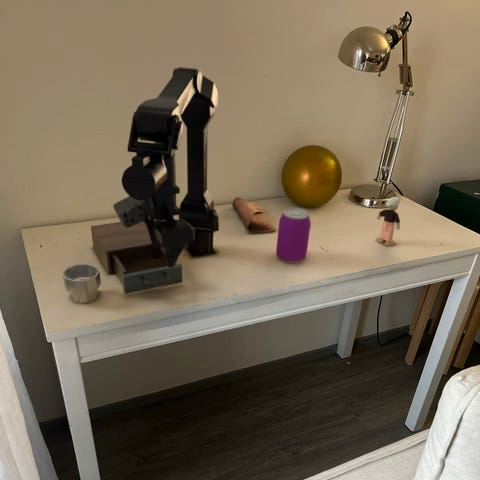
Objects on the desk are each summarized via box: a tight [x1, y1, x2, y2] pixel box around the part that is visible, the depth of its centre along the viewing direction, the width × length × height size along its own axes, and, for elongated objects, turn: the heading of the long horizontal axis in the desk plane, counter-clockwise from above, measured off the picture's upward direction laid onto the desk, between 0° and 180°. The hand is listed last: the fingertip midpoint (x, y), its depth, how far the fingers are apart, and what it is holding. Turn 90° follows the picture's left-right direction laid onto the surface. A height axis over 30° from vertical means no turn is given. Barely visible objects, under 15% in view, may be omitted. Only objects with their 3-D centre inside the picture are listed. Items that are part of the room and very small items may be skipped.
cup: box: [62, 263, 102, 304], centre depth 107 cm, size 7×8×6 cm
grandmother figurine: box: [376, 196, 401, 246], centre depth 135 cm, size 8×4×13 cm, turn 47°
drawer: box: [110, 245, 183, 295], centre depth 114 cm, size 17×13×4 cm
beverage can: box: [275, 207, 312, 264], centre depth 125 cm, size 8×8×12 cm
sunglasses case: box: [231, 196, 275, 234], centre depth 145 cm, size 18×7×7 cm
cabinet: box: [90, 221, 152, 275], centre depth 123 cm, size 14×14×6 cm
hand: (163, 257), depth 100 cm, fingers open, 8 cm apart
